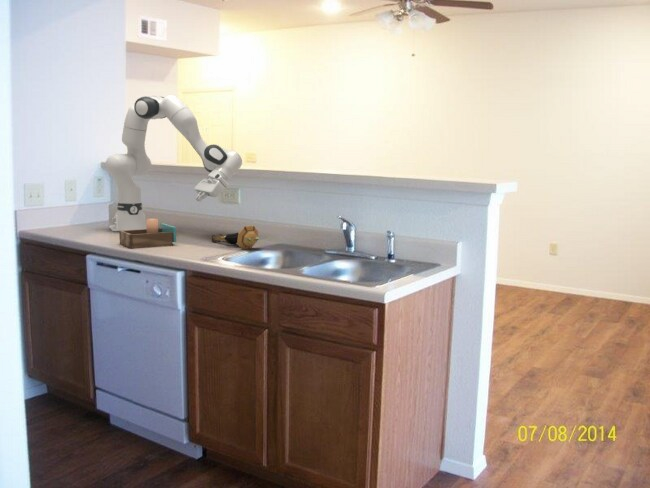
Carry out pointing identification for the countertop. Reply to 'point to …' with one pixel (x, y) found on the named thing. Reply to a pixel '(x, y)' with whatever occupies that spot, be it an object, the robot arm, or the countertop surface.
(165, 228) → the teal tilted board
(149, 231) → the cylinder
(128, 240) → the brown wooden box
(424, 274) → the countertop surface
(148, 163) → the robot arm
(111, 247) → the countertop surface
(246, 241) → the toy
